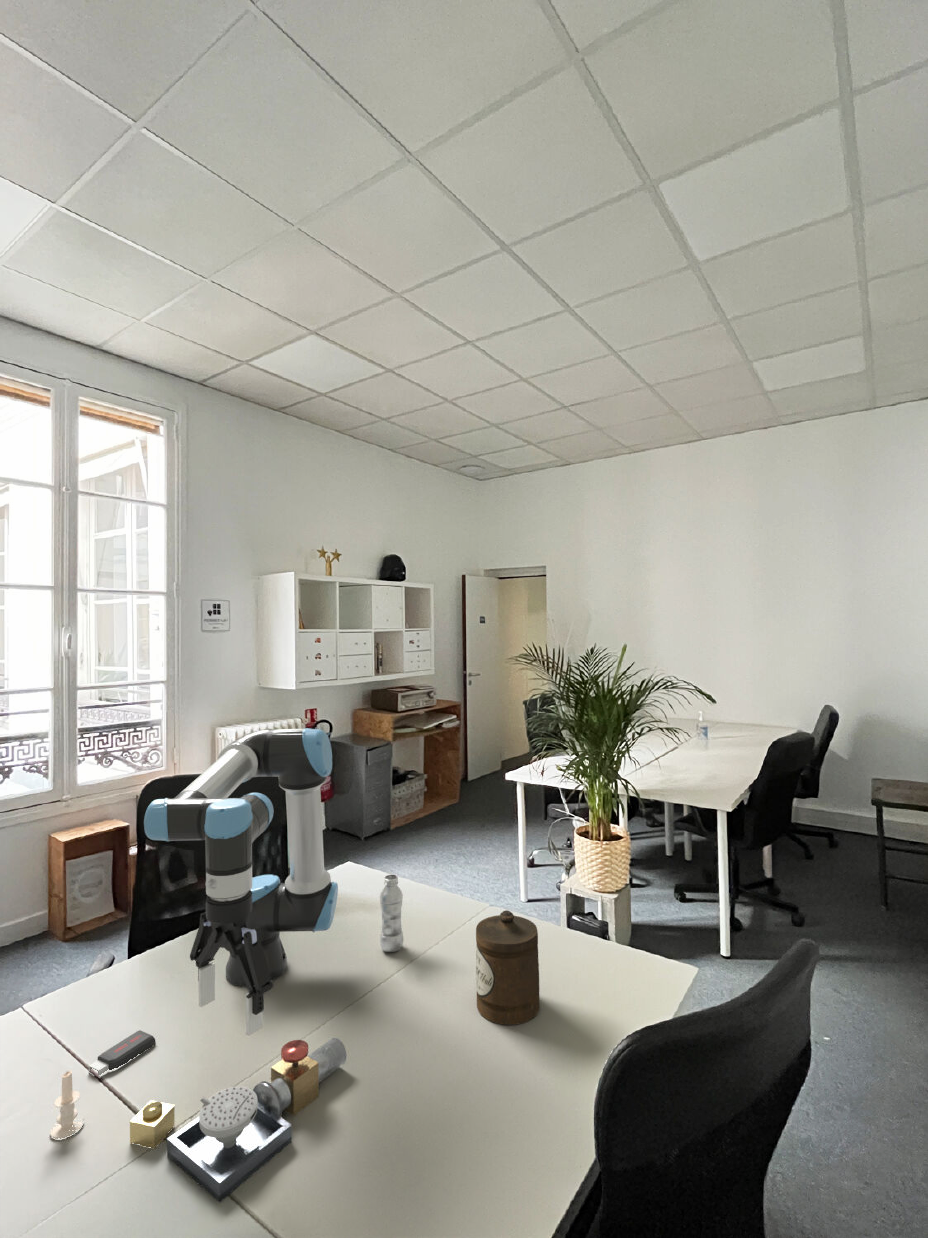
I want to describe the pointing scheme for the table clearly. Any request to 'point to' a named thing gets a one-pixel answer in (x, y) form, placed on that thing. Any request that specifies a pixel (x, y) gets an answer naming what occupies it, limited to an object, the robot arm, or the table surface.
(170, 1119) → the brass block
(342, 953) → the table surface
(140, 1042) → the usb drive
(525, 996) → the wooden container
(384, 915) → the plastic bottle
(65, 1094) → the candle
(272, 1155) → the metal assembly
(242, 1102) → the showerhead
